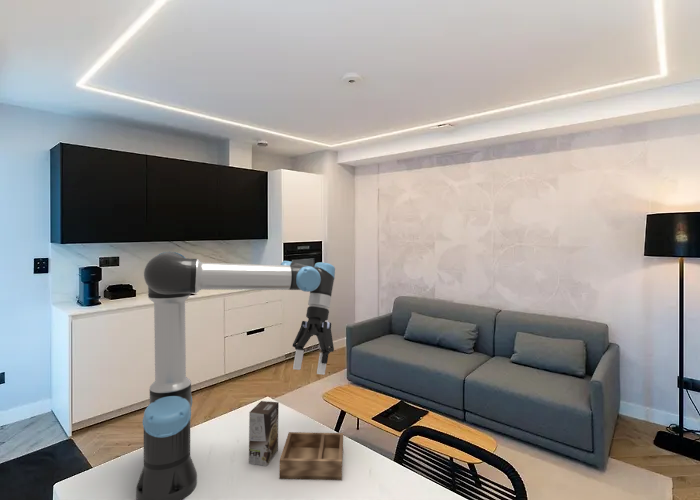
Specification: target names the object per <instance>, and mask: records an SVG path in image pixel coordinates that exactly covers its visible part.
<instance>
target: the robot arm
mask: <svg viewBox="0 0 700 500" xmlns="http://www.w3.org/2000/svg"><path fill="white" fill-rule="evenodd" d="M335 274H336V267H335V266H334V265H333V264H331V263H328V262H322V261H321V262H316V263H315V264H314V266H311V265H306V264H303V263H298V262H294V261H289V260H283V261H282V262H281V263H280V264H253V263H227V262H226V263H225V262H224V263H221V262H203V261H201V260H200V259H198V258H189V257H188V258H187V257H185V256H184V255H182V254H181V253H179V252H175V251H164V252H160V253H159V254H157V255H155V256H153V257H152V258H151V259H150V260H149V261H148V262H147V263H146V266H145V267H144V270H143V279H144V281H145V283H146V285H147V288H148V289H147V292H148V293H147V296H148V297H147V298H148V299H149V300H150V301H151V302H153V311H154V312H153V314H154V317H153V318H154V322H153V323H154V324H153V325H154V328H153V329H154V381H153V383H151V384H150V386H149V404H148V406H147V407H146V408H145V410H144V412H143V417H142V426H143V466H142V469H141V472H140V475H139V478H138V481H137V484H136V487H135V493H136V494H135V497H136V498H135V499H136V500H184V499H185V498H186V497H188V496H189V495H190V494H191V493H192V492H194V490H195V488H196V487H197V483H198V473H197V469H196V468H195V464H194V462H193V459H192V457H191V418H192V406H193V396H192V381H191V379H190V378H188V377H187V375H186V374H187V371H186V370H187V369H186V368H187V367H186V366H187V365H186V363H187V362H186V361H187V358H186V352H187V351H186V348H187V347H186V301H187V299H189V298H190V296H191V294H197V293H198V292H200V291H201V290H217V291H219V290H221V291H222V290H224V291H225V290H230V291H231V290H233V291H235V290H236V291H237V290H239V291H240V290H245V291H246V290H251V291H255V290H256V291H257V290H260V291H261V290H265V291H266V290H268V291H269V290H271V291H273V290H274V291H282V290H283V291H302V292H309V295H308V296H309V297H308V301H307V304H308V307H306V308H307V310H306V314H305V316H306V317H305V318H307V319H308V320H307V321H305V320H302V321H301V324H300V328H299V330H298V332H297V334H296V336H295V339H294V340H293V342H292V347H293V348H295V353H294V361H293V367H292V370H295V371H296V370H297V371H300V370H301V368H302V364H303V357H304V352H305V350H304V349H305V346H306V345H307V343H308V342H309V340H310V339H311V338H312V337H313V336H316V337H317V340H318V343H319V344H318V345H319V346H320V349H321V350H320V351H319V357H318V361H317V362H318V363H317V369H316V374H317V375H323V376H324V375H326V370H327V364H328V360H329V354H330V353H334V351H335V347H334V342H333V341H334V340H333V334H332V333H333V332H332V322H329V321H328V320H329V314H330V310H329V309H330V308H331V300H332V293H333V288H334V283H335V279H336V277H335Z"/></svg>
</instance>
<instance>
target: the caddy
mask: <svg viewBox="0 0 700 500" xmlns="http://www.w3.org/2000/svg"><path fill="white" fill-rule="evenodd" d="M287 433H288V434H287V436H286V440H285V443H284V445H283V449H282V451H281V454H280V458H279V466H278V467H279V470H278V471H279V473H278V474H279V475H278V476H279V477H278V479H279V480H310V481H311V480H316V481H317V480H318V481H319V480H320V481H342V479H343V476H342V475H343V461H344V459H343V458H344V432H305V431H304V432H301V431H300V432H299V431H298V432H297V431H296V432H293V431H290V432H289V431H288V432H287Z"/></svg>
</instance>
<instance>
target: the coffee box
mask: <svg viewBox="0 0 700 500" xmlns="http://www.w3.org/2000/svg"><path fill="white" fill-rule="evenodd" d="M248 416H249V419H248V421H249V422H248V424H249V426H248V464H252V465H259V466H263V467H267V466H268V465H269V464H270V463H271V460H273V459H274V457H275V455H276V454H277V452H279V402H278V401H264V400H261V401H260V402H258V403H257V404H256V406H254V408H252V409H251V410H250V411H249V415H248Z"/></svg>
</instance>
